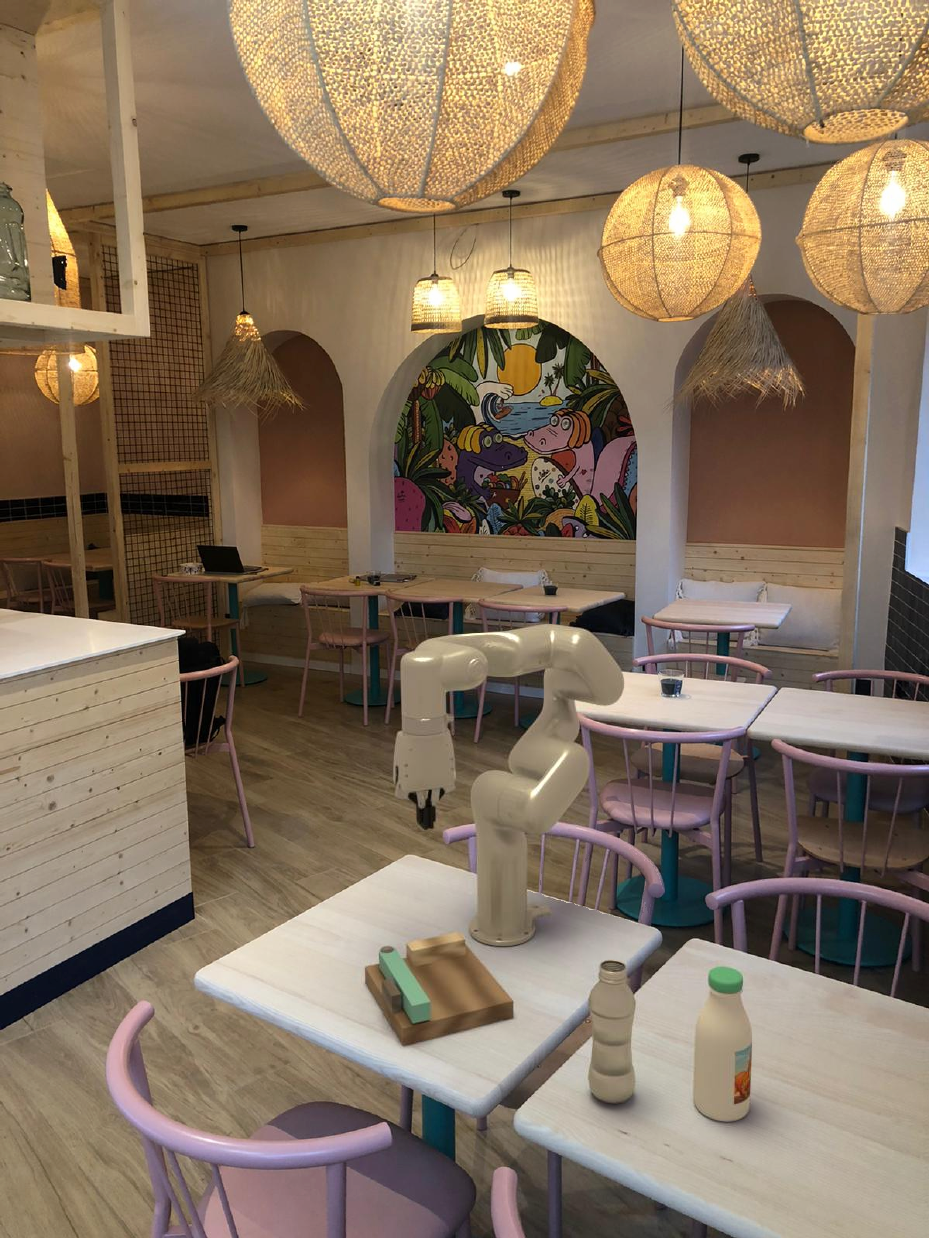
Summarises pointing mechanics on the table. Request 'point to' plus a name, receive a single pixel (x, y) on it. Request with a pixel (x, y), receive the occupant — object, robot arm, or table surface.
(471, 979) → the stool seat
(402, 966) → the folding leg
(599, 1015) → the plastic bottle
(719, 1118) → the milk bottle
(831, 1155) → the table surface
